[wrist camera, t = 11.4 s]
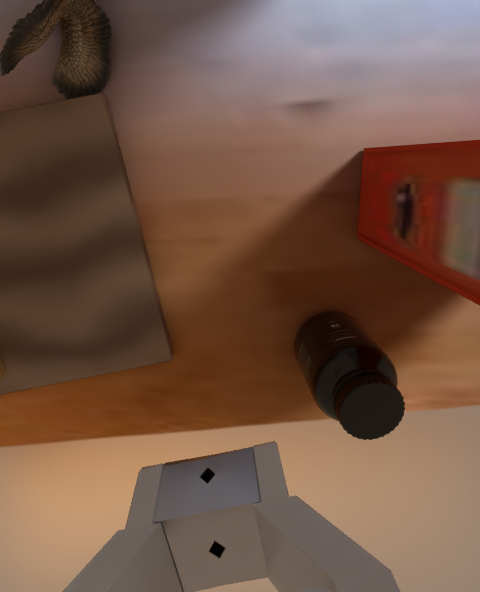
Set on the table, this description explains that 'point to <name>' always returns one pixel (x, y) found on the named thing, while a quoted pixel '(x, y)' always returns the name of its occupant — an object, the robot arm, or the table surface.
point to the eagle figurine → (65, 44)
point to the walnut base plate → (71, 251)
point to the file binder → (425, 210)
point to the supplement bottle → (349, 375)
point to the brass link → (2, 370)
